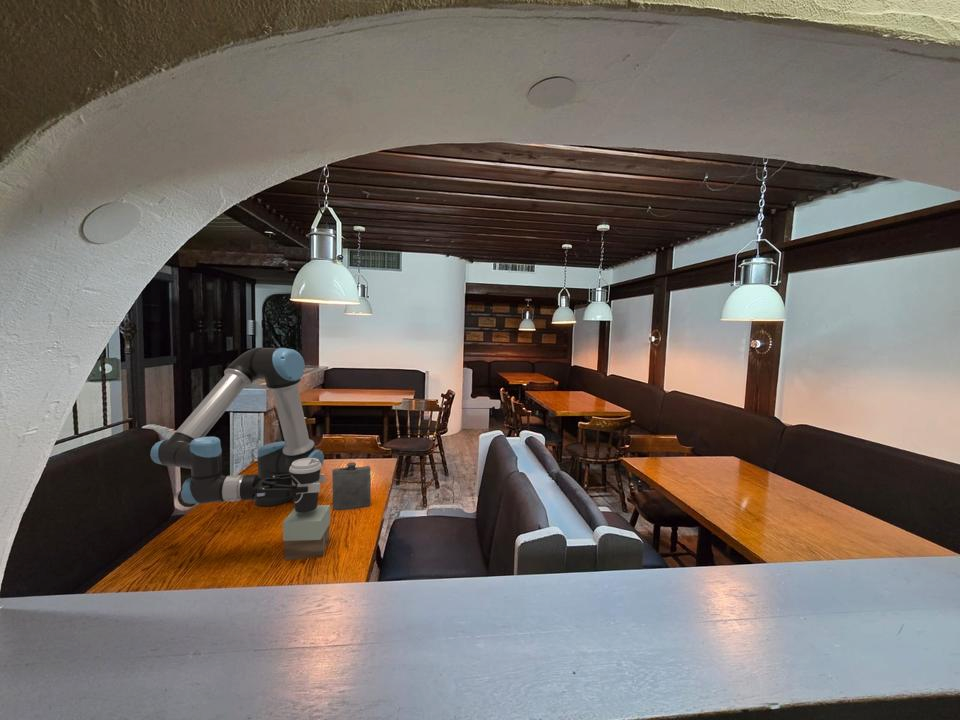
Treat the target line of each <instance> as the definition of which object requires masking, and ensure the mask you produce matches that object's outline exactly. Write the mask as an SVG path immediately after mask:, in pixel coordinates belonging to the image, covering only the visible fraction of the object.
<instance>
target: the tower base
mask: <svg viewBox="0 0 960 720" xmlns="http://www.w3.org/2000/svg"><path fill="white" fill-rule="evenodd" d="M329 540H330V525H329V526H328V528H327V529H326V531H325V533H324V535H323V537H322V538H321V540H301V541H283V542H284V543H283V544H284V546H283V547H284V561H292V560H293V559H294V560H302V559H303V560H304V559H315V558H324V556H325V553H326V549H327V545H328V543H329Z"/></svg>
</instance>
